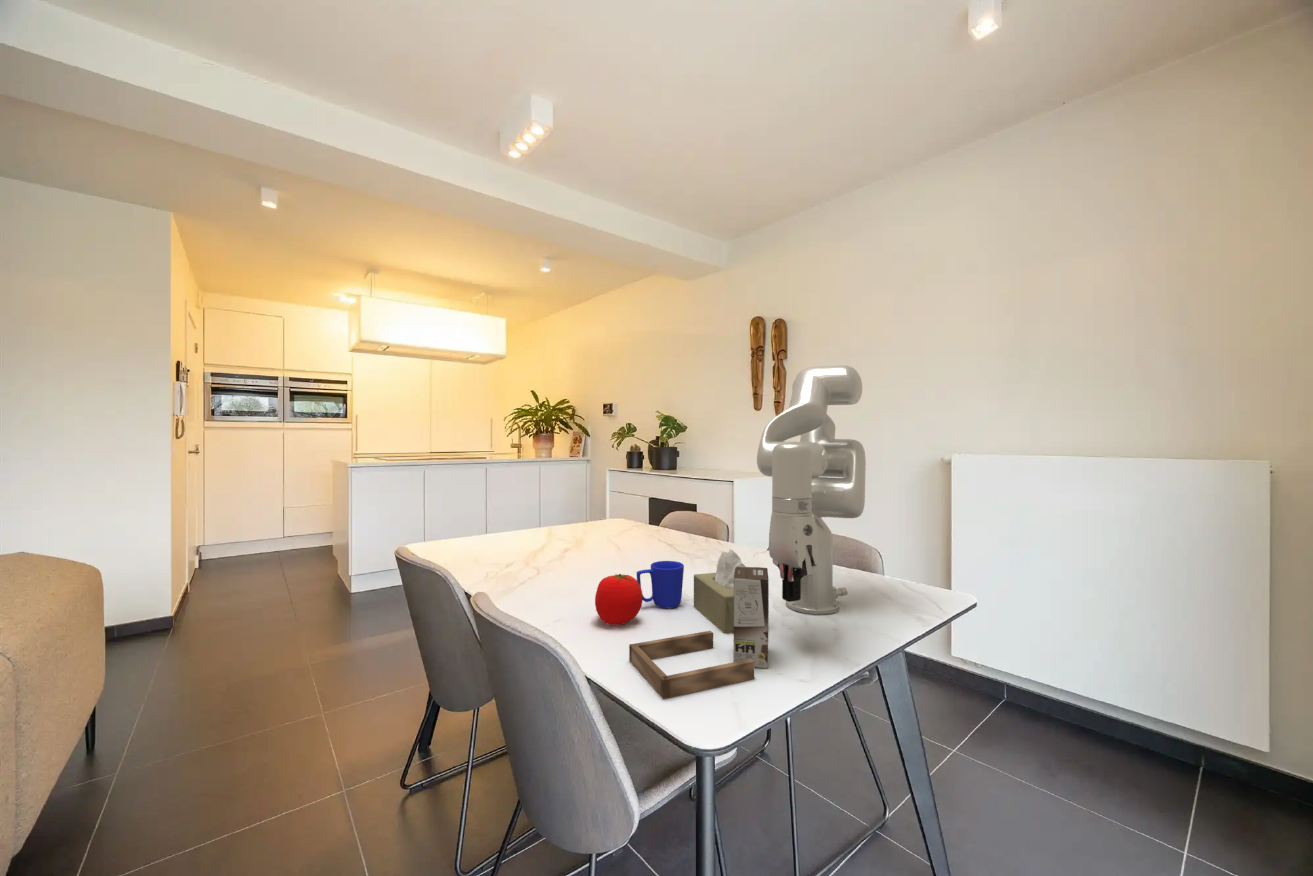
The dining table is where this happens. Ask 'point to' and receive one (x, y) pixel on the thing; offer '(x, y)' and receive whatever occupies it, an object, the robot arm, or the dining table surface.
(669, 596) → the mug
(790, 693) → the dining table surface
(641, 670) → the u rest
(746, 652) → the coffee box
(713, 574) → the tissue box
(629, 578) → the tomato
